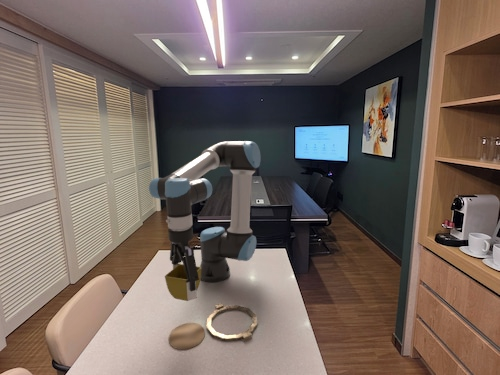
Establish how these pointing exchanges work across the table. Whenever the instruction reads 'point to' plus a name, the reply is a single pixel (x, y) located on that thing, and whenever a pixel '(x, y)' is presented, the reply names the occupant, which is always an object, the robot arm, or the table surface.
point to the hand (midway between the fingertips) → (184, 290)
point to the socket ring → (244, 335)
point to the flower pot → (179, 282)
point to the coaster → (186, 336)
